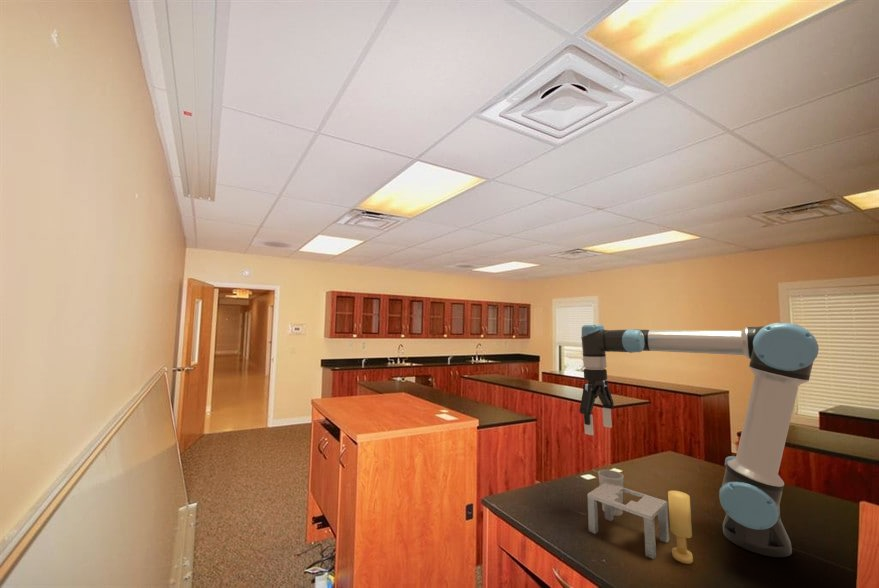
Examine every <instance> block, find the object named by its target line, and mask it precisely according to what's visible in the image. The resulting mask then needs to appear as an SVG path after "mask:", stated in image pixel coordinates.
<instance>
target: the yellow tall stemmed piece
mask: <svg viewBox="0 0 879 588" xmlns="http://www.w3.org/2000/svg"><path fill="white" fill-rule="evenodd" d="M667 496H668V497H667V498H668V501H667V503H668V520H669V532H670V533H671V534H672V535H674V536H675V537H676V546H675V547H672V549H671V551H672V553H671V554H672V555H671V556H672V557H673V559H674V560H675V561H678V562H680V563H682V564H688V565H689V564H693V561H694V559H693V558H694V557H693V553H692V552H691V551H690V550H689V549H688V548H687V547H688V546H687V539H691V538H693V531H692V530H693V529H692V510H691V497H690V495H689V494H687V493H685V492H682V491H679V490H669V491H668V492H667Z"/></svg>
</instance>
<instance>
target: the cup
mask: <svg viewBox="0 0 879 588" xmlns="http://www.w3.org/2000/svg"><path fill="white" fill-rule="evenodd" d="M597 474H598V482H599V483H598V484H599V486H600V485H602V484H603V483H605V482H608V483H611V484H614V485H617V486H620V487H623V488H624V477H625V476H624V475H623V473H621V472H618V471H617V470H616V471H615V470H612V469H611V470H610V469H599V470H598V472H597ZM618 496H620V500H619V501H617V502H619V503H621V504H624V503H623V501H624V498H623V497H624V492H622V493H620V494H619V495H618ZM601 509H602V511H603V512H604V503H602V502H601ZM623 511H624V510H621V509H619V508H616V507H613V516H617V517H618V516H622V515H623V513H624V512H623Z"/></svg>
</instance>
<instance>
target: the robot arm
mask: <svg viewBox="0 0 879 588" xmlns="http://www.w3.org/2000/svg"><path fill="white" fill-rule="evenodd" d="M581 346H582V349H581V350H582V359H581V360H582V363H583V368H584V369H583V378H584V380H586V381H587V383H583V384H582V395H581V401H580V406H579V413H580V414H581V415H583V422H584V424H583V425H584V427H583V428H584V434H585V435H588V436H594V435H595V434H594V432H595V430H594V418H593V416H594V415H593V414H592V411H593V408H594V405H595V401H596V399H597V398H599V400H600V402H601V405H602V406H603V407H602V423H603V427H604V428H605V427H606V428H609V429H612V428H613V423H612V409H614V408H615V406H614V405H615V404H614V400H613V398H612V394H611V390H610V387H609V381H608V374H607V373H608V370H607V369H606V368H607V367H608V366H607V356H606V355H607V354H606V353H610V352H611V353H630V354H632V353H641V352H663V353H664V352H665V353H668V352H669V353H689V354H710V355H732V356H733V355H735V356H745V358H747V359H750V361H749V366H748V368H749V369H750V371H752V373H753V374H754V377H753V382H752V386H751V390H750V394H749V395H750V396H749V399H748V404H747V408H746V412H745V416H744V421H743V424H742V430H741V434H740V438H739V443H738V447H737V452H736V456H735V455H731V456H730V455H729V456H727V457H725V460H724V466H725V470H724V476H723V480H722V484H721V487H720V488H719V491H718V497H719V498H718V499H719V503H720V505H721V507H722V509H723V510H724V512H725V517H724V520H723V521H722V532H723V533H722V534H723V535H724V537H725V538H726V539H727V540H729V541H730V542H731V543H733V544H735V545H736V546H738V547H741V548H742V549H744V550H747V551H750V552H752V553H755V554H759V555H762V556H766V557H767V556H768V557H773V558H787V557H790V556H791V555H792V554H793V550H792V549H793V548H792V543H791V539H790V537H789V535H788V533H787V531H786V529H785V526H784V524H783V522H782V519H781V508H780V507H781V506H780V504H781V499H782V495H783V491H784V490H783V489H784V487H785V482H784V480H783V479H782V478H781V476H780V475H779V471H780V467H781V463H782V458H783V454H784V450H785V446H786V440H787V437H788V432H789V430H790V424H791V420H792V416H793V412H794V407H795V404H796V400H797V395H798V390H799V386H800V385H802V384H805V383H808V382H809V381H810V377H811V373H812V370H813V364H814V362H815V360H816V359H817V357H818V354H819V344H818V341H817V339H816V338H815V336H814V334H813V333H811V331H810V330H808V329H806V328H805V327H803V326H801V325H798V324H795V323H792V322H774V323H770V324H767V325H764V326H762V325H761V326H745V327H744V328H743V329H741V330H740V329H735V330H734V329H636V328H635V329H632V328H628V329H605V326H604V325H603V324H584V325H582V326H581Z"/></svg>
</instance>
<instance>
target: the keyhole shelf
mask: <svg viewBox="0 0 879 588" xmlns="http://www.w3.org/2000/svg"><path fill="white" fill-rule="evenodd" d="M622 492H623V493H627V494H629V495H632V496H636V497H639V498H640V499H639V500H638V501H635V500H629V502H627V503H626V504H624V503H623V504H621V503H619V502H617V501H619V500H620V496H618V495H619V494H620V493H622ZM586 497H587V515H588V518H587V519H588V521H587V522H588V532H590V533H592V534H594V535H596V534H598V532H599V521H598V519H599V516H598V515H599V514H598V502H600V503H601V504H602V503H604V511H603V512H604V513H603V514H604V519H605V520H607V521H610V522H612V521H613V520H614V515H613V507H616V508H619V509H621V510H623V511H624V512H627V513H630V514H632V515H636V516H639V517H641V518H643V527H644V528H643V533H644V534H643V535H644V552H645V557H647V558H649V559H652V560H655V559H656V557H657V546H656V528H655V524H656V523H655V518H656V517H657V522H658V524H657V525H658V539H659V541H660V542H663V543H665V544H668V542H669V541H670V533H669V532H670V526H669V509H668V501H667V500H664V499H662V498H658V497H656V496H655V497H654V496H651V495H648V494H645V493H642V492H639V491H636V490H632V489H630V488H627V487H624V486H623V487H620V486H617V485H614V484H611V483H608V482H605V483H603V484H602V485H600V484H599V485H598V486H597V487H595V488H594V489H593V490H591V491H590V492H588V493H587V496H586Z"/></svg>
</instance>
